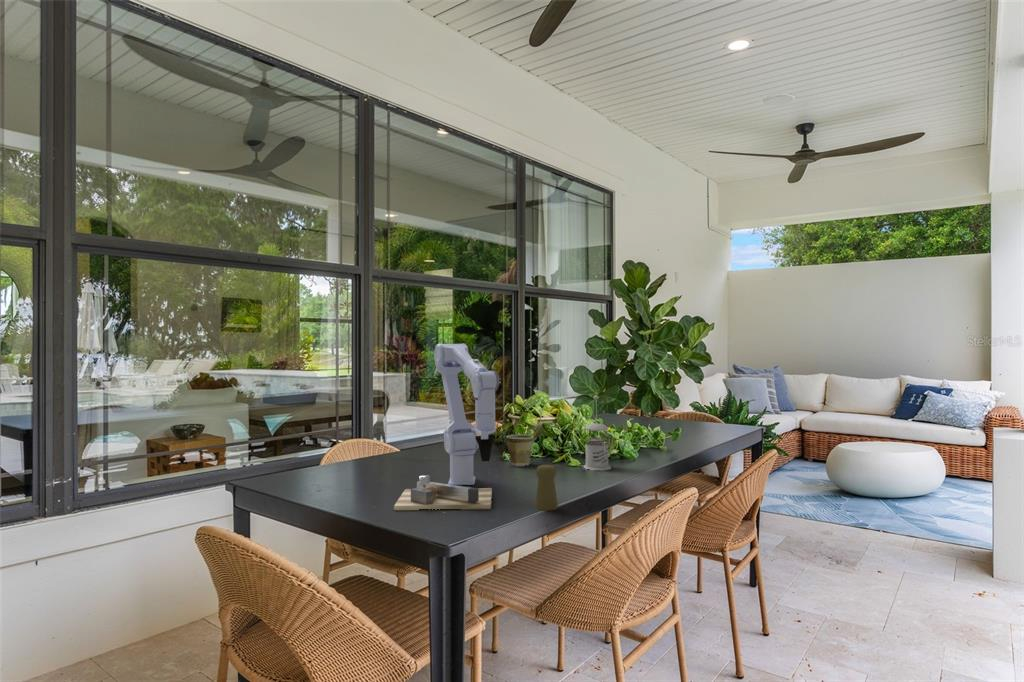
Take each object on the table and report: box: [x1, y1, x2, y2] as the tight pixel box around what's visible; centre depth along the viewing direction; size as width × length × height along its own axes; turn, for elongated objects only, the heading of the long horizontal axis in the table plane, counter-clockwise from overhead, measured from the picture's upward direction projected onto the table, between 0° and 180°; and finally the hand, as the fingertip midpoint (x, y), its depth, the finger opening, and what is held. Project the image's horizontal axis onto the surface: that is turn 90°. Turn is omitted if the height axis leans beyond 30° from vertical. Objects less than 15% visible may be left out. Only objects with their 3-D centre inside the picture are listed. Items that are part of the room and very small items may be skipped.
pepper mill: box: [534, 464, 559, 511], centre depth 158 cm, size 6×6×11 cm
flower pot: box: [505, 433, 535, 467], centre depth 217 cm, size 13×10×10 cm
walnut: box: [425, 486, 437, 499], centre depth 162 cm, size 4×4×4 cm
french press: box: [582, 395, 614, 471], centre depth 210 cm, size 10×12×25 cm
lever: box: [416, 474, 479, 503], centre depth 164 cm, size 20×3×5 cm, turn 58°
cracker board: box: [393, 487, 493, 511], centre depth 166 cm, size 18×25×1 cm
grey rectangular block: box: [410, 486, 433, 505], centre depth 160 cm, size 2×6×3 cm, turn 51°
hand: (485, 460), depth 173 cm, fingers closed
